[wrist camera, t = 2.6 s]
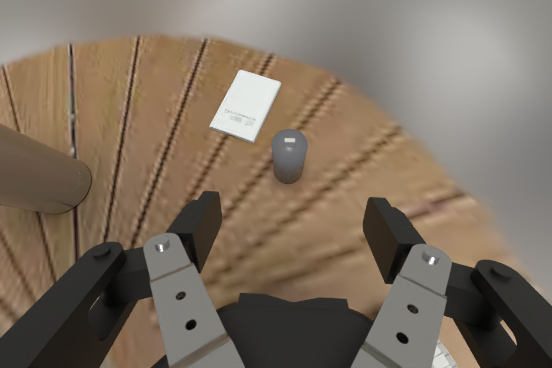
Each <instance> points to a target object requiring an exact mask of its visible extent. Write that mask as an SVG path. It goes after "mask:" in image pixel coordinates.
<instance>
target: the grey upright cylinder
mask: <svg viewBox="0 0 552 368" xmlns="http://www.w3.org/2000/svg"><path fill="white" fill-rule="evenodd" d="M307 146H308V145H307V140H306V138H305V136H304V135H303V134H302V133H301V132H299V131H297V130H294V129H285V130H282V131H280V132H278V133H277V134H276V135H275V136H274V138H273V140H272V154H273V164H274V173H275V176H276V178H277V179H278V180H279V181H280V182H282V183H286V184H290V183H294V182H296V181H297V180H298V179H299V178H300V176H301V173H302V169H303V164H304V160H305V156H306V151H307Z"/></svg>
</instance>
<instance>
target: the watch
mask: <svg viewBox="0 0 552 368" xmlns="http://www.w3.org/2000/svg"><path fill="white" fill-rule="evenodd" d="M373 321H375V319H374V320H373ZM439 342H440V340H439V339H438V341H437V343H438V344H437V346H436V350H435V354H434V359H433V363H432V368H458V367H457V365H456V363H455V361H454V360H453V358H452V357H451V355H450V354H449V352H448V351H447V350H446V348H445V347H444V346H443V344H442V343H441V342H440V343H439ZM438 354H439V355H438ZM436 355H437V356H436Z"/></svg>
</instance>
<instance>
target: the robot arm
mask: <svg viewBox="0 0 552 368" xmlns="http://www.w3.org/2000/svg"><path fill="white" fill-rule="evenodd" d="M90 183H91V175H90V171H89V169H88V168H87V166H86V165H85V164H84V163H83V162H81V161H79V160H77V159H74V158H72V157H70V156H68V155H66V154H64V153H62V152H60V151H58V150H56V149H54V148H51V147H49V146H47V145H45V144H43V143H41V142H39V141H37V140H34V139H32V138H30V137H28V136H26V135H24V134H22V133H20V132H17V131H15V130H13V129H11V128H9V127H7V126H5V125H2V124H0V205H5V206H11V207H16V208H21V209H26V210H32V211H37V212H43V213H48V214H58V213H63V212H66V211H68V210H70V209H72V208H74V207H75V206H76V205H78V204H79V203H80V202H81V201H82V200H83V198H84V197H85V195H86V194H87V192H88V190H89V187H90ZM221 223H222V212H221V204H220V196H219V192H216V191H204V192H203V193H202V194H201V196H200V197H199V199H198V200H193V201H191V202H190V203H188V204H187V205H186V206H185V207H184V208H183V210H182V212H180V214H179V215H178V217H177V218H176V219H175V221H174V222H173V223H172V225H171V226H170V227H169V229H168V230H167V231H166V233H163V234H159V235H156V236H154V237H152V238H151V239H149V240H148V241H147V242H146V243H145V245H144V247H141V248H136V249H130V250H124V249H123V247H122V245H121V244H120V243H118V242H106V243H102V244H99V245H97V246H95V247H93V248H91V249H90V250H88V251H87V252H86V253H85V254H84V255H83V256H82V257H81V258H80V259H79V260H78V261H77V262H76V263H75V264H74V265H73V266H72V267H71V268H70V269H69V270H68V271H67V272H66V273H65V274H64V275H63V276H62V277H61V278H60V279H59V280H58V281H57V282H56V283H55V284H54V285H53V286H52V287H51V288H50V289H49V290H48V291H47V292H46V293H45V294H44V295H43V296H42V297H41V298H40V299H39V300H38V301H37V302H36V303H35V304H34V305H33V306H32V307H31V308H30V309H29V310H28V311H27V312H26V313H25V314H24V315H23V316H22V317H21V318H20V319H19V320H18V321H17V322H16V323H15V324H14V325H13V326H12V327H11V328H10V329H9V330H8V331H7V332H6V333H5V334H4V335H3V336H2V337H1V338H0V368H99V367H100V366H101V364H102V362H103V360H104V359H105V357H106V355H107V353H108V352H109V350H110V348H111V346H112V345H113V343H114V341H115V339H116V338H117V336H118V334H119V332H120V331H121V329H122V327H123V326H124V324H125V322H126V320H127V319H128V317H129V315H130V313H131V312H132V310H133V308H134V306H135V305H136V303H137V301H138V300H140V299H144V298H148V297H153V299H154V303H155V307H156V312H157V316H158V320H159V325H160V329H161V333H162V338H163V342H164V346H165V351H166V354H165V355H164V356H163V357H162V358H161V359H160V360H159V361H158V362H157V363H155V364H154V365H153V366H152V367H151V368H432V363H433V359H434V354H435V350H436V346H437V341H438V337H439V332H440V328H441V324H442V319H443V315H444V316H447V317H450V318H453V320H454V322H455V324H456V325H457V327H458V329H459V331H460V332H461V334H462V336H463V338H464V340H465V341H466V343H467V345H468V347H469V348H470V350H471V352H472V354H473V355H474V357H475V359H476V361H477V363H478V364H479V366H480V368H552V306H551V305H550V304H549V303H548V302H547V301H546V300H545V299H544V298H543V297H542V296H541V295H540V294H539V293H538V292H537V291H536V290H535V289H534V288H533V287H532V286H531V285H530V284H529V283H528V282H527V281H526V280H525V279H524V278H523V277H522V276H521V275H520V274H519V273H518V272H516V271H515V270H513V269H512V268H510V267H508V266H506V265H504V264H502V263H499V262H496V261H492V260H480V261H478V262H477V264H476V266H475V268H472V267H468V266H464V265H461V264H457V263H453V262H452V261H451V259H450V258H449V256H448V255H447V254H446V253H444V252H443V251H442V250H440V249H438V248H436V247H434V246H431V245H427V244H426V242H425V241H424V240H423V238H422V237H421V236H420V234H419V233H418V232H417V230H416V229H415V228H414V227H413V225H412V224H411V222H410V221H409V220H408V218H407V217H406V216H405V214H404V213H403V212H401V211H400V210H398V209H397V208H395V207H391V205H390V204H389V202H388V201H387V200H386V198H378V197H370V198H369V199H368V201H367V206H366V210H365V215H364V219H363V232H364V235H365V237H366V239H367V242H368V244H369V246H370V249H371V251H372V253H373V256H374V258H375V261H376V263H377V265H378V268H379V270H380V272H381V275H382V277H383V279H384V282H385V284H393V285H392V287H391V289H390V291H389V293H388V295H387V297H386V299H385V301H384V303H383V305H382V307H381V309H380V311H379V313H378V315H377V317H376V319H375V321H373V320H371V319H370V318H368V317H367V316H365V315H363V314H361V313H360V312H357V311H355V310H353V309H349V308H348V303H347V299H337V298H315V299H310V300H304V301H299V302H289V301H286V300H282V299H279V298H276V297H272V296H269V295H265V294H248V293H240V296H239V301H238V302H235V303H231V304H228V305H226V306H223V307H221V308H220V309H218V310H215V308H214V306H213V303H212V301H211V299H210V297H209V295H208V293H207V291H206V288H205V286H204V284H203V282H202V280H201V278H200V276H199V274H198V273H201V271H202V269H203V266H204V264H205V262H206V259H207V257H208V255H209V252H210V250H211V248H212V245H213V243H214V241H215V238H216V236H217V234H218V231H219V229H220V227H221ZM98 297H99V299H98V300H97V301H96V299H97V298H98ZM95 301H96V303H95V304H94V305H93V303H94V302H95ZM92 305H93V307H92V308H91V306H92ZM90 308H91V309H90ZM89 310H90V311H89ZM502 319H503V320H504V322H505V323H506V324H507V326H508V327H509V328H510V330H511V331H512V332H513V334H514V336H515V338H516V342H517V346H516V344H515V343H514V341H513V340H512V339H511V337H510V336H509V335H508V333H507V332H506V331H505V329H504V328H503V327H502V325H501V324H500V322H501V321H502Z"/></svg>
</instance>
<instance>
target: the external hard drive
mask: <svg viewBox="0 0 552 368" xmlns="http://www.w3.org/2000/svg"><path fill="white" fill-rule="evenodd" d="M280 88H281V83H280V82H279V81H276V80H272V79H269V78H266V77H263V76H260V75H257V74H253V73H250V72H247V71H244V70H239V72H238V74H237V76H236V78H235V79H234V81H233V83H232V85H231V87H230V89H229V91H228V92H227V94H226V96H225V98H224V100H223V102H222V104H221V106H220V107H219V109H218V111H217V113H216V115H215V117H214V119H213V121H212V122H211V124H210V126H209V127H210V129H213V130H216V131H219V132H221V133H224V134H227V135H232V136H234V137H236V138H238V139H241V140H244V141H247V142H249V143H252V144H254V143H255V141H256V139H257V137H258V134H259V132H260V130H261V128H262V126H263V124H264V122H265V120H266V118H267V115H268V113H269V111H270V109H271V107H272V105H273V103H274V100H275V98H276V96H277V94H278V92H279V90H280Z"/></svg>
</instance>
